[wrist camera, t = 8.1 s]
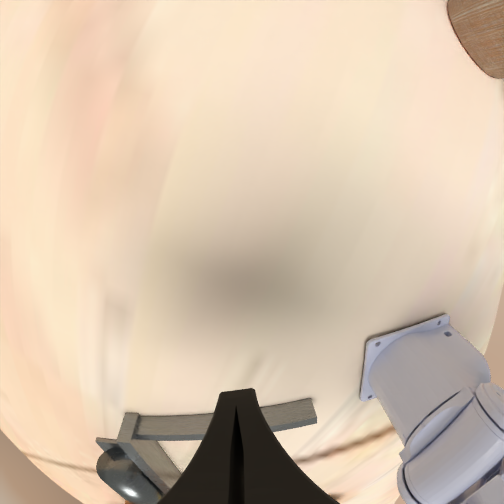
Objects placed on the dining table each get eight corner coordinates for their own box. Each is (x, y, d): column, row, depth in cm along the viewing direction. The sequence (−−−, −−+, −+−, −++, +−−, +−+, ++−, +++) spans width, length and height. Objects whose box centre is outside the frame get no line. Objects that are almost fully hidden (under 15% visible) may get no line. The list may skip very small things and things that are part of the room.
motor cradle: (310, 394, 23) (327, 446, 17) (310, 487, 31) (318, 518, 25) (74, 408, 23) (55, 448, 17) (155, 497, 30) (152, 526, 24)
